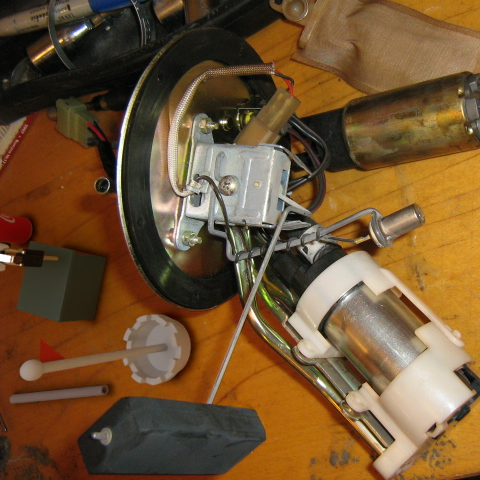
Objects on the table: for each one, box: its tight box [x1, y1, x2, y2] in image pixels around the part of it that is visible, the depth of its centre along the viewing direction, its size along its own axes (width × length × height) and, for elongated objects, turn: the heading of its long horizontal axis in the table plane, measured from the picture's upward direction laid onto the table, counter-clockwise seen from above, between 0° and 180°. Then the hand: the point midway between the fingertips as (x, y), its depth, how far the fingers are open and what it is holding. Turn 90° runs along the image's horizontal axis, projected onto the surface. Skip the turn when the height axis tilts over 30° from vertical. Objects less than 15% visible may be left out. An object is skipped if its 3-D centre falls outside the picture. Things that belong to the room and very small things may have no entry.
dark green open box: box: [61, 250, 107, 323], centre depth 98 cm, size 14×13×8 cm
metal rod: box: [9, 384, 109, 405], centre depth 99 cm, size 2×27×2 cm, turn 98°
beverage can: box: [0, 213, 33, 244], centre depth 104 cm, size 6×6×12 cm
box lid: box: [15, 240, 77, 323], centre depth 92 cm, size 14×13×6 cm
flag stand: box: [19, 313, 192, 386], centre depth 77 cm, size 13×13×30 cm
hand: (25, 254), depth 89 cm, fingers open, 9 cm apart
